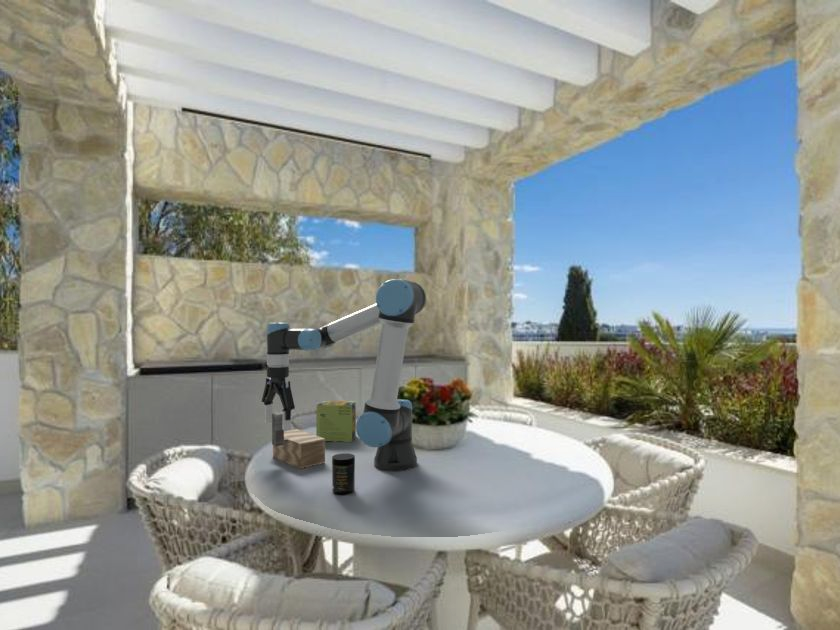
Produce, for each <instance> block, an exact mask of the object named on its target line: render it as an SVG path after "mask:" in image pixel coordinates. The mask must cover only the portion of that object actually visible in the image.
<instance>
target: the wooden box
mask: <svg viewBox="0 0 840 630" xmlns="http://www.w3.org/2000/svg"><path fill="white" fill-rule="evenodd" d="M272 457H273V458H274V459H277V460H280V461H281V462H284V463H286V464H287V465H290V466H292V467H294V466H295V468H296V467H297V469H299V470H301V469H300V468H302V469H305V468H304V467H306V468H309V467H308V466H310V467H313V466H312V465H314V466H317V465H316V464H318V465H321V464H320V463H323V464H325V463H326V442H325V440H324V441H319V442H314V443H309V444H304V445H297V444H295V443H292V442H290V441H284V445H280V446H274V445H272ZM324 462H325V463H324Z"/></svg>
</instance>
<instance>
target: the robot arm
mask: <svg viewBox="0 0 840 630" xmlns="http://www.w3.org/2000/svg"><path fill="white" fill-rule="evenodd" d="M426 303H427V294H426V291H425V290H424V288H423V287H422V286H421V285H420V284H419V283H417V282H416V281H415V282H414V281H411V280H406V279H402V278H393V279H388V280H386V281H384V282H383V283H382V284H381V285H380V286H379V288H378V289H377V292H376V295H375V303H374V304H372V305H370V306H367V307H365V308H363V309H360V310H357V311H355V312H353V313H350V314H349V315H346V316H344V317H342V318H340V319H337V320H335V321H332V322H330V323H328V324H325V325H322V326H320V327H314V328H313V327H311V328H309V327H307V328H291V327H290V323H288V322H269V323H268V324H267V329H266V330H267V331H266V343H267V345H266V346H267V348H266V349H267V351H266V365H267V367H266V378H265V385H264V390H263V392H262V393H263V394H262V398H261V402H262V403H263V405H264V424H272V413H274V411H273V410H274V402H273V401H274V398H275V396H276V395H278V396H279V399H280V402H281V404H282V408H283V409H282V410H281V411H282V413H283V424H282V430H284V431H288V430H291V426H292V425H291V423H292V422H291V421H292V420H291V419H292V410H295V408H296V406H295V402H294V398H293V393H292V389H291V381H290V380H289V381H288V380H287V381H286V378H288V377H290V376H289V375H290V367H289V363H290V358H291V357H290V351H291V350H294V351H295V350H296V351H305V352H308V351H316V350H318V349H327V348H331V347H333V346H334V345H335V344H337V343H340V342H341V341H343V340H346V339H348V338H351V337H353V336H356V335H359V334H361V333H363V332H366V331H368V330H371V329H372V328H375V327H378V326H380V325H381V328H380V334H379V335H380V336H379V341H378V349H377V353H376V354H377V355H376V361H375V366H374V367H375V368H374V372H373V373H374V374H373V380H372V384H371V385H372V387H371V393H370V396H369V397H368V398H367V399H365V402H364V406H363V407H364V408H363V413H362V414H361V415H359V417H358V419H356V436H358V438H359V439H360V441H361V442H362V443H363V444H364V445H366V446H368V447H371V448H377V449H376V453H375V456H374V458H373V465H374V467H375V468H377V469H378V470H381V471H387V472H398V471H400V472H401V470H402V471H407V469H408V470H411V469H414V468H415V467H417V466H418V457H417V455H416V451H415V448H414V444H413V406H412V405H413V404H412V401H410V400H409V399H403V398H402V399H401V398H398V396H399V388H400V382H401V377H402V376H401V375H402V370H403V364H404V363H403V362H404V358H405V357H404V356H405V351H406V345H407V339H408V332H409V328H410V327H411V326H413V325H414V323H415V318H416V315H417V314H419V313H420V312H422V310H423V309H424V307H426Z"/></svg>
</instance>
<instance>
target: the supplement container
mask: <svg viewBox="0 0 840 630" xmlns="http://www.w3.org/2000/svg"><path fill="white" fill-rule="evenodd" d="M355 462H356V456H355V454H353V453H348V452H345V453H337V454H334V455H333V456H331V465H332V466H331V473H332V475H331V476H332V477H331V481H332V483H331V484H332V485H331V488H332V489H331V490H332V493H333V494H334V495H339V496H345V495H350V494H352V493H353V492H354V491H355V489H356V488H355V487H356V476H355V475H356V474H355V470H356V469H355V468H356V467H355V465H356V463H355Z"/></svg>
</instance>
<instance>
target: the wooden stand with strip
mask: <svg viewBox="0 0 840 630" xmlns="http://www.w3.org/2000/svg"><path fill="white" fill-rule="evenodd" d="M282 424H283V412H273V413H272V422H271V445H272V446H273V445H274V446H280V445H284V441H290V442H292V443H295V444H297V445H304V444H309V443H314V442H319V441H324V440H325V438H322V437H319V436H316V434H313V433H309V432H307V431H304V430H302V429H301V430H300V429H298V428H297V429H292V430H291V429H289V430H282Z"/></svg>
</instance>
